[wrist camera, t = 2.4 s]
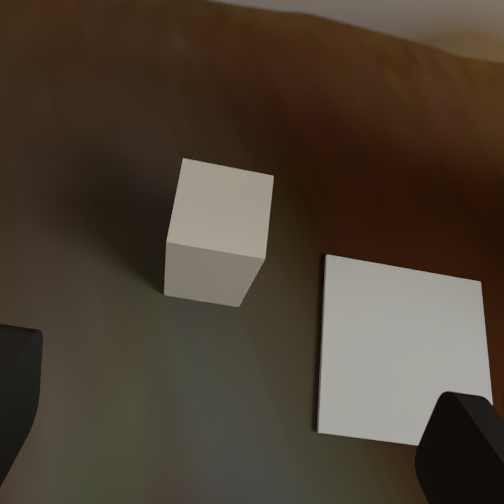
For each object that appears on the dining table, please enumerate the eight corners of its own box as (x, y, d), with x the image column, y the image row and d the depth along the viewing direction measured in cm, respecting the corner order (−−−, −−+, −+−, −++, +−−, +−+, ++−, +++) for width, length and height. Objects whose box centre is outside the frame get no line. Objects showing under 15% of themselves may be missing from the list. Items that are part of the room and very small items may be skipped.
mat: (325, 256, 40) (326, 254, 40) (477, 283, 42) (480, 281, 41) (316, 432, 34) (318, 432, 34) (494, 455, 36) (497, 455, 36)
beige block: (176, 227, 39) (183, 158, 30) (246, 240, 39) (273, 175, 30) (163, 295, 36) (166, 242, 27) (238, 307, 37) (265, 258, 28)
